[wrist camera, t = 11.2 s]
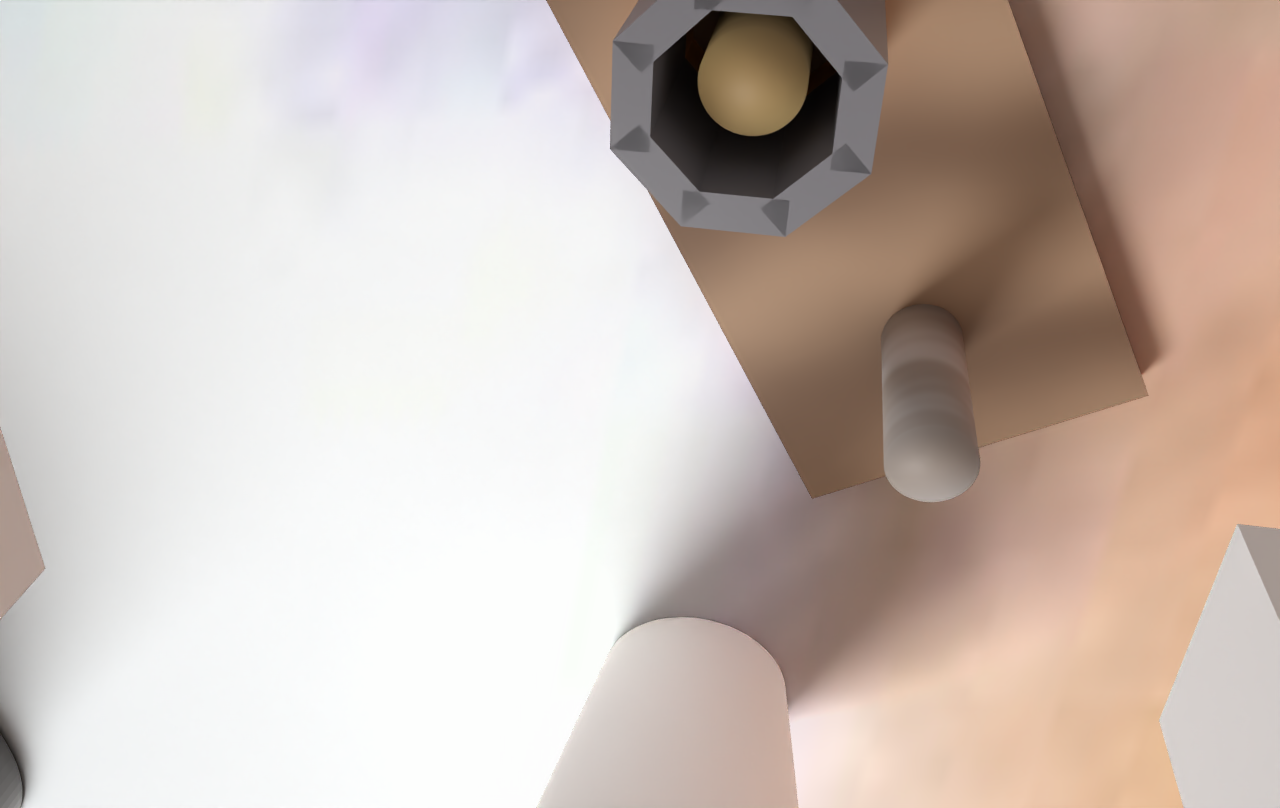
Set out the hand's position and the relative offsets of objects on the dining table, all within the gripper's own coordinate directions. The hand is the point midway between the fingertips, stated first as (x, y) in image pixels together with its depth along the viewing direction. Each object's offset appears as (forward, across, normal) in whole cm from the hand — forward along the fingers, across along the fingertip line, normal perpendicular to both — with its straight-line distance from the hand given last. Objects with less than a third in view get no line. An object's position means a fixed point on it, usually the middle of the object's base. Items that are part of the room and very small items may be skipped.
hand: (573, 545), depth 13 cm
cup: (+21, 0, -23) cm, 31 cm away
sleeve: (+20, +1, +1) cm, 20 cm away
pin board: (+21, +3, -3) cm, 21 cm away
